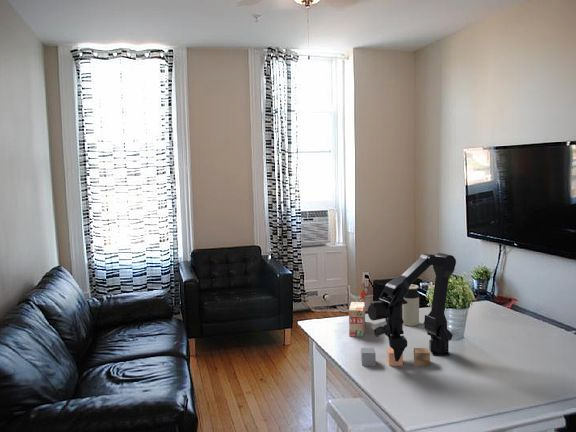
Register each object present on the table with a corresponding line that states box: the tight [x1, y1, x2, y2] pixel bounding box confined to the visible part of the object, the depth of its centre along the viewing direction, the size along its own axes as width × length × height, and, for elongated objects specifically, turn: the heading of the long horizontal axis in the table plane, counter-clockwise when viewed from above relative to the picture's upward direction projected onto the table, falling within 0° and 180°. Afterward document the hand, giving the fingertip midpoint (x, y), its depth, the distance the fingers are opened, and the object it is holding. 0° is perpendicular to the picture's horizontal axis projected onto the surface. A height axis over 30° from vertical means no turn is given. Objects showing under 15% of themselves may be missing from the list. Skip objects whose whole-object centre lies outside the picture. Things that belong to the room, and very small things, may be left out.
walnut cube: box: [413, 347, 431, 367], centre depth 180 cm, size 5×5×5 cm
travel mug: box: [403, 283, 420, 327], centre depth 223 cm, size 8×8×18 cm
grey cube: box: [360, 347, 377, 367], centre depth 181 cm, size 5×5×5 cm
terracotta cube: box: [386, 347, 404, 367], centre depth 181 cm, size 5×5×5 cm
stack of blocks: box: [348, 301, 366, 338], centre depth 219 cm, size 21×6×12 cm, turn 169°
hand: (394, 356), depth 181 cm, fingers open, 9 cm apart
